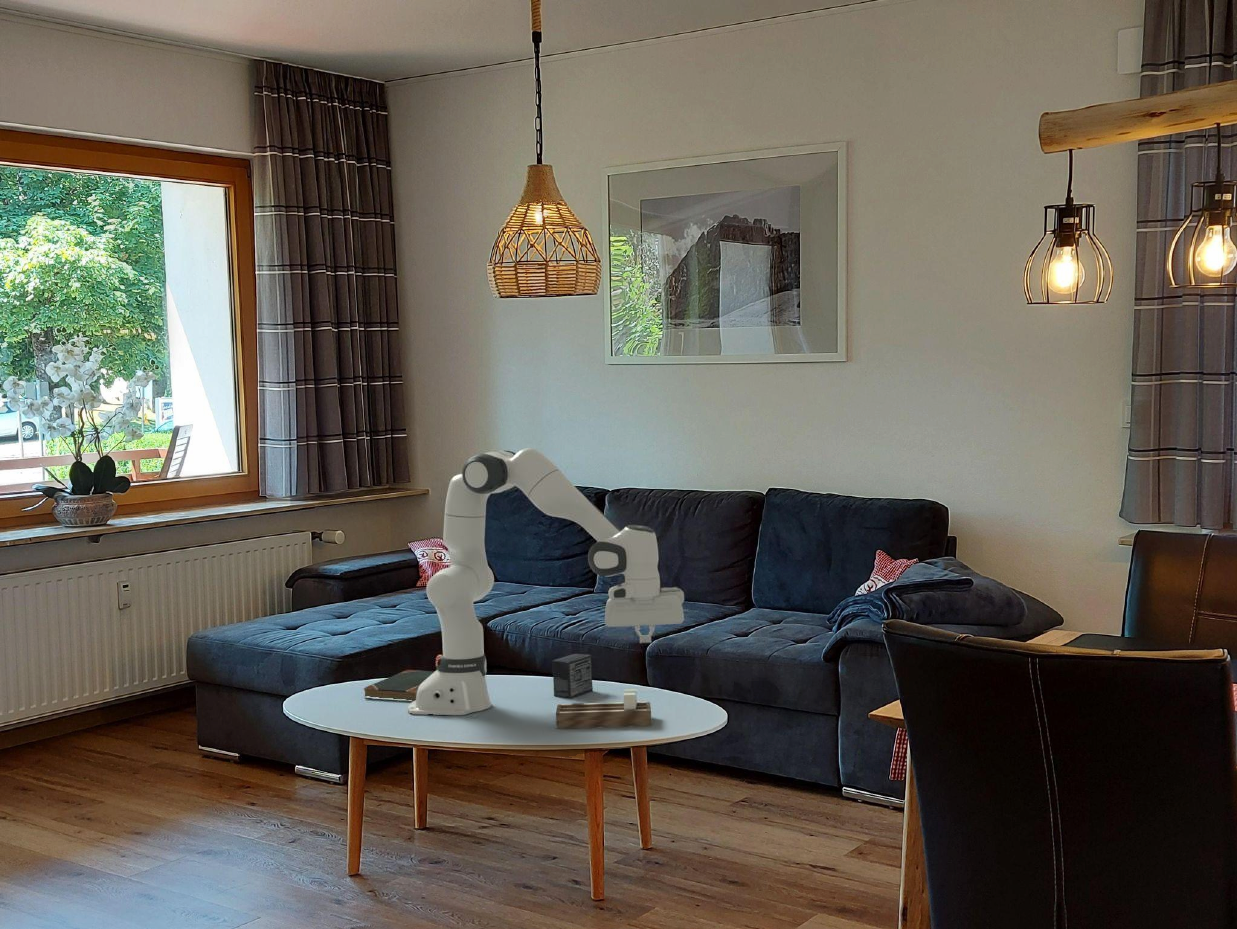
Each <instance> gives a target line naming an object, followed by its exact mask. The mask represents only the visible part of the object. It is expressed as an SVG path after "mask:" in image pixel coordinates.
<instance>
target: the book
mask: <svg viewBox="0 0 1237 929" xmlns="http://www.w3.org/2000/svg"><path fill="white" fill-rule="evenodd" d="M434 672H435V671H432V670H430V671H428V670H417V669H416V670H415V669H406V670H403V671H401V672H399V673H396V674H395V675H392V676H390V677H387V678H385V679H382V680H379V681H378V682H377V681H376V682H374V683H372V684H369V685H367V686H365V687H363V688H362V690H363V691H364V697H365V696H370V697H379V698H393V699H406V700H412V701H415V700H416V694H417V690H418V687H419V686H420V684H421V683H422V682H423V681H425V680H426V679H427V678H428V677H429V676H430V675H432V674H433V673H434Z"/></svg>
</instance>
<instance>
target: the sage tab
mask: <svg viewBox="0 0 1237 929" xmlns="http://www.w3.org/2000/svg"><path fill="white" fill-rule="evenodd" d="M624 693H635V695H636V706H637V702H638V699H637V698H638V697H637V688H625V689H624Z"/></svg>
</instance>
